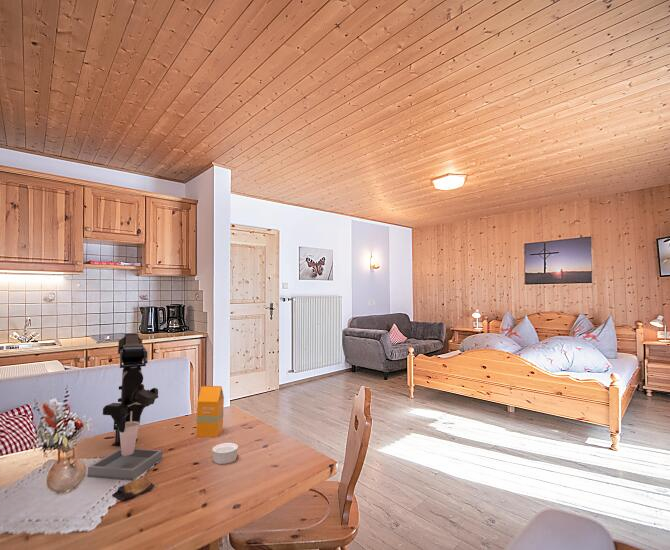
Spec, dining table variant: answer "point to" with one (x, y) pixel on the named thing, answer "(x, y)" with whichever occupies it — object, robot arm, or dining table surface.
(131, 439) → the smoothie
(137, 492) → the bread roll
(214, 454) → the ramekin
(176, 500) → the dining table surface
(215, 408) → the orange juice
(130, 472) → the gray square tray
